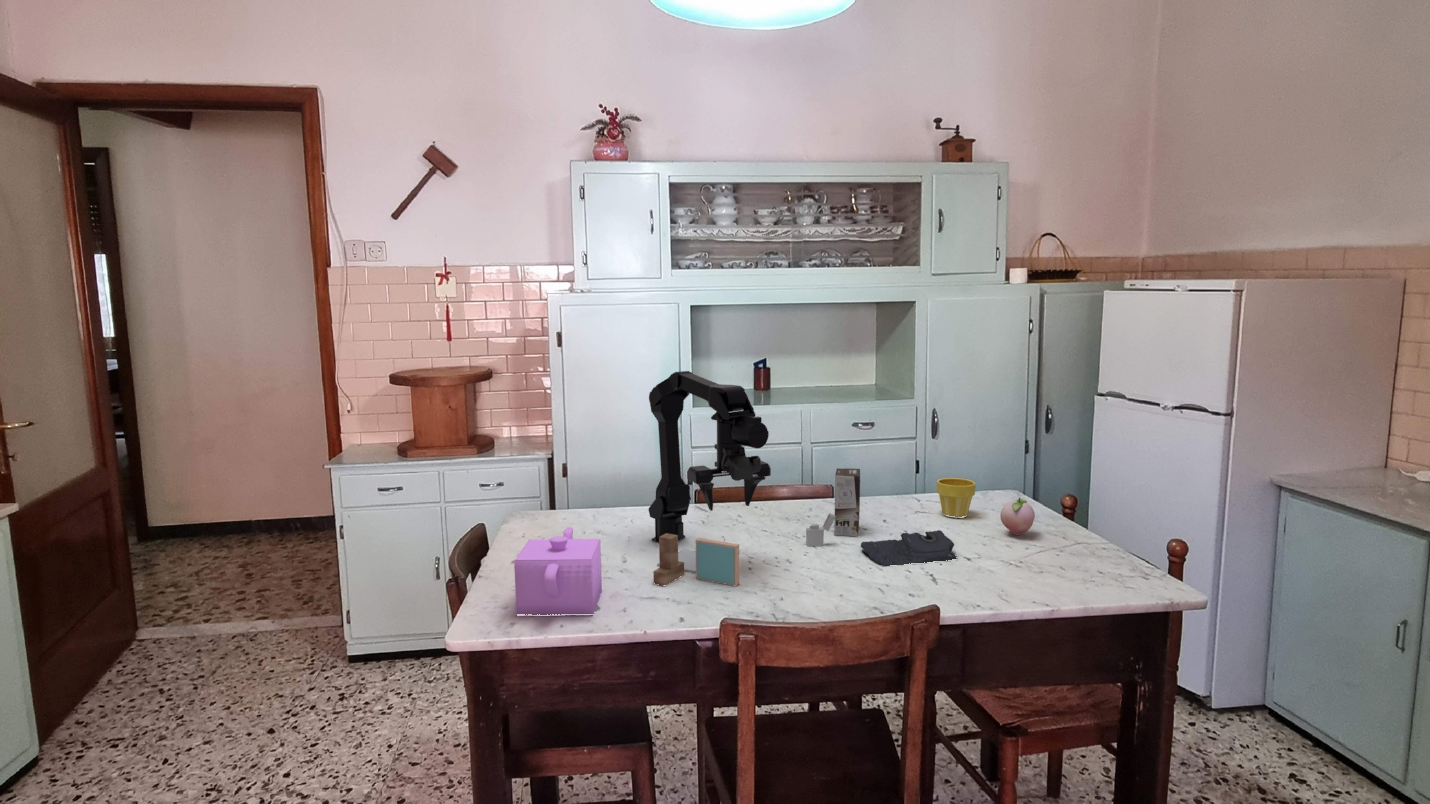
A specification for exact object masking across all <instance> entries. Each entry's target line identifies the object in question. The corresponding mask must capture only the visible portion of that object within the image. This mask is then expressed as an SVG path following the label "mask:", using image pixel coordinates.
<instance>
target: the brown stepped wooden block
mask: <svg viewBox="0 0 1430 804" xmlns="http://www.w3.org/2000/svg"><path fill="white" fill-rule="evenodd" d="M658 551H659V553H658V554H659V559H658V560H659V563H660V566H659V568H656V569H655V570H653V584H654V583H655V584H659V585H658V586H660V585H667V584H669V583H670V584H672V583H673V582H672V581H674V580H675V579H677V580H679V579H680V578H681V577H680V576H682V577H683V576H685V571H684V562H680V561H678V552H679V541H678V535H674V534H668V533H666V534H664V535H662V536H660V537H659V542H658ZM679 577H680V578H679ZM675 581H676V580H675ZM675 581H674V582H675ZM671 582H672V583H671ZM655 584H654V585H655ZM670 584H669V585H670ZM667 586H668V585H667Z"/></svg>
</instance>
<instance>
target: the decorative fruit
mask: <svg viewBox="0 0 1430 804" xmlns="http://www.w3.org/2000/svg"><path fill="white" fill-rule="evenodd" d="M1035 516H1036V514H1035V510H1034V508H1033V507H1032V504H1031V505H1030V504H1029V503H1028V501H1027V500H1026V499H1023V498H1021V497H1019V498H1018V499H1016V500H1013V501H1009V502H1007V503H1005V504H1004V505H1003V507H1002V508H1001V510H1000V521H1001V523H1002V525H1003V526H1004V527H1005V528H1006V529H1007V530H1008V531H1009V532H1011V533H1013V534H1014V535H1017V534H1019V535H1018V536H1020V534H1021V535H1023V534H1025V533H1027V532H1028V531H1029V530H1030V529H1031V528H1032V526H1033V524H1034V521H1035V518H1036V517H1035Z"/></svg>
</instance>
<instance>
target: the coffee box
mask: <svg viewBox="0 0 1430 804" xmlns="http://www.w3.org/2000/svg"><path fill="white" fill-rule="evenodd" d="M834 477H835V481H834V482H835V483H834V515H835V516H836V517H835V519H834V521H833V523H834V527H833V528H834V530H833V535H834V536H845V537H854V538H855V537H856V536H857V537H858V536H859V529H860V511H861V510H860V507H861V469H860V468H847V467H846V468H836V469H835V476H834Z"/></svg>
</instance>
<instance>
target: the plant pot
mask: <svg viewBox="0 0 1430 804" xmlns="http://www.w3.org/2000/svg"><path fill="white" fill-rule="evenodd" d="M936 493H937V494H938V496H939V501H940V507H941V512H942V515H943V514H945V515H949V516H955V517H962V516H966V515H967V516H968V514H969V510H970V507H971V503H972V499H973V496H975V494H976V481H975V482H974V481H973V480H971V479H966V478H959V477H958V478H957V477H945V478H939V479H937V481H936Z"/></svg>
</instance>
